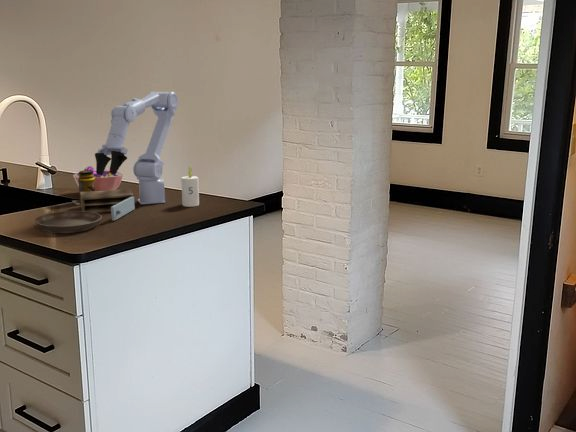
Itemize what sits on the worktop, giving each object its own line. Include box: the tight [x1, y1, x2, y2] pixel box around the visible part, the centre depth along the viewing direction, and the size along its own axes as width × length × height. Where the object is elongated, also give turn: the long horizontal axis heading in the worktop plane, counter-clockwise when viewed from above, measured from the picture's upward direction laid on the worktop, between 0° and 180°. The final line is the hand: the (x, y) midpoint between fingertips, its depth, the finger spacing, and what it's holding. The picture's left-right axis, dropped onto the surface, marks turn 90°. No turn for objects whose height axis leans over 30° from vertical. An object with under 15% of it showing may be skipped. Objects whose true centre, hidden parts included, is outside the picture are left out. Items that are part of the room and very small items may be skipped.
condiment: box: [72, 170, 96, 206], centre depth 233 cm, size 7×8×12 cm
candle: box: [180, 164, 200, 208], centre depth 229 cm, size 6×6×15 cm
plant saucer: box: [34, 210, 103, 234], centre depth 199 cm, size 21×21×3 cm
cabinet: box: [79, 188, 136, 213], centre depth 223 cm, size 18×11×6 cm, turn 111°
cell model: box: [72, 165, 124, 191], centre depth 247 cm, size 17×20×11 cm
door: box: [110, 196, 136, 221], centre depth 213 cm, size 18×2×5 cm, turn 171°
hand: (105, 173), depth 209 cm, fingers open, 7 cm apart
